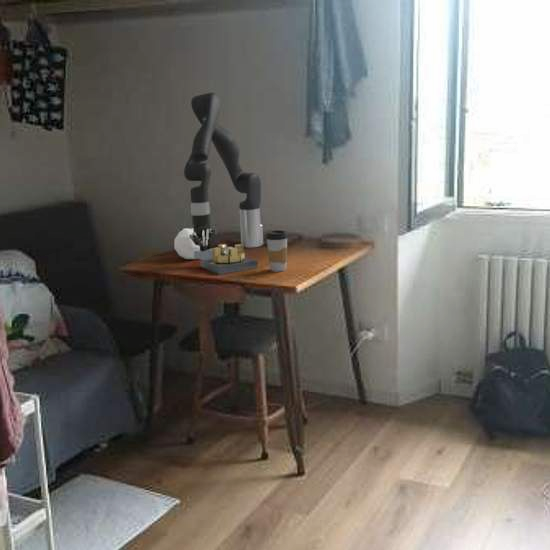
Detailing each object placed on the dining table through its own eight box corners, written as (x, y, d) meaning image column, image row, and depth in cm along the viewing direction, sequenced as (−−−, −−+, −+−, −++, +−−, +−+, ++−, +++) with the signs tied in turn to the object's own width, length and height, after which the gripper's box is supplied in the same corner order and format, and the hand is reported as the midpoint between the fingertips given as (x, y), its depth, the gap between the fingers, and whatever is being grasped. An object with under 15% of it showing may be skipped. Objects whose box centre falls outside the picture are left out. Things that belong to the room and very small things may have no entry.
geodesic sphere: (162, 245, 312) (172, 222, 304) (187, 240, 322) (197, 217, 313) (180, 268, 306) (190, 245, 298) (205, 262, 316) (216, 240, 307)
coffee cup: (276, 266, 289) (275, 229, 286) (293, 268, 284) (291, 231, 281) (263, 270, 283) (261, 233, 280) (279, 273, 278) (278, 234, 274)
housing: (237, 260, 303) (236, 241, 301) (257, 267, 289) (256, 248, 287) (200, 266, 295) (199, 247, 293) (219, 274, 280) (218, 254, 279)
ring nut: (248, 256, 295) (247, 243, 294) (237, 263, 283) (237, 250, 282) (201, 255, 301) (200, 243, 300) (189, 261, 289) (188, 249, 288)
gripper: (205, 209, 300) (208, 250, 304) (182, 214, 290) (185, 257, 294) (218, 210, 295) (221, 252, 300) (195, 216, 285) (199, 259, 290)
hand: (204, 254), depth 297 cm, fingers closed
